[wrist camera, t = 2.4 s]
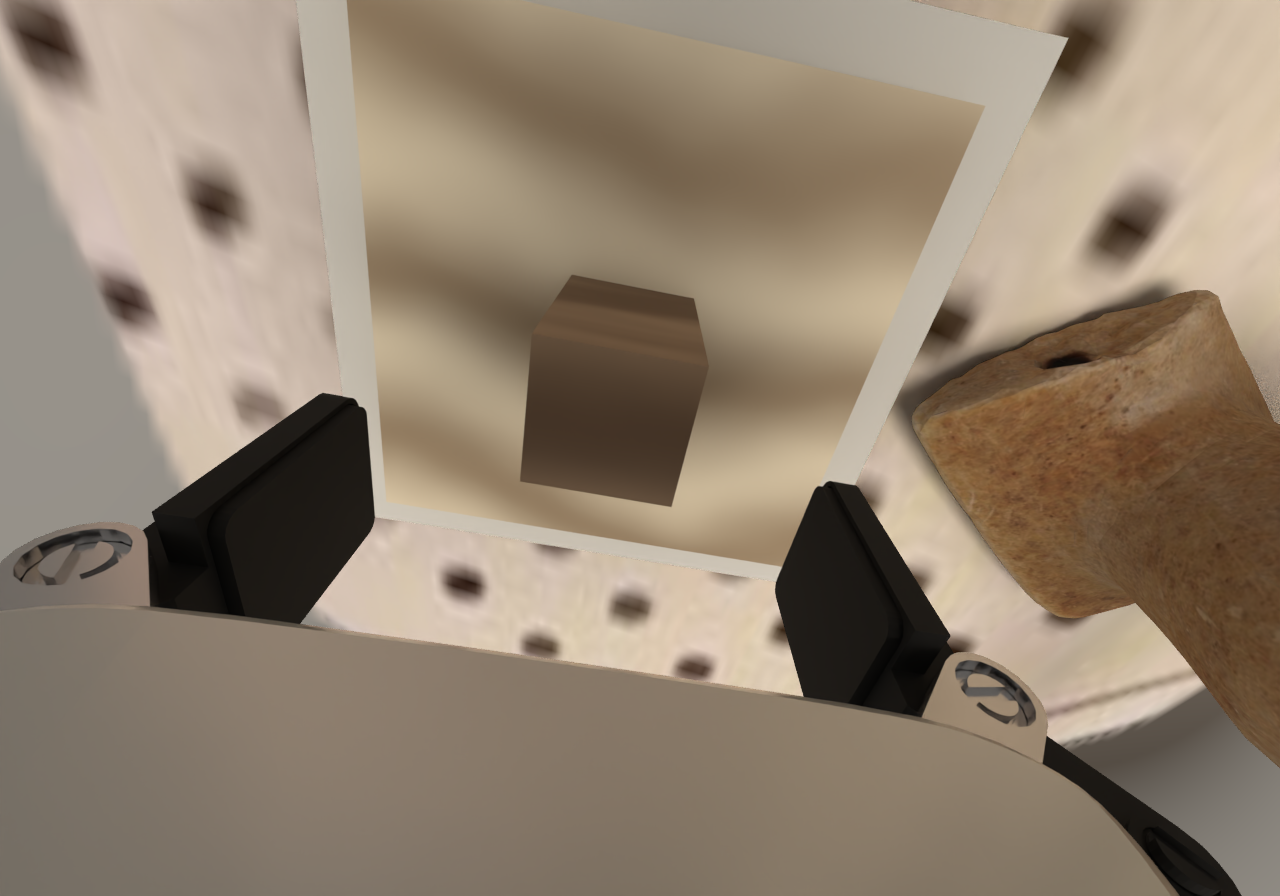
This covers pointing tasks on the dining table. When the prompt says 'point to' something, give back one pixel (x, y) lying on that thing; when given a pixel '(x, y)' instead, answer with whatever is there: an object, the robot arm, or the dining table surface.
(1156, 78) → the dining table surface
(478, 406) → the birch lid
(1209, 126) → the dining table surface
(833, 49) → the grey mat
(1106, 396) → the brown boot-shaped piece
